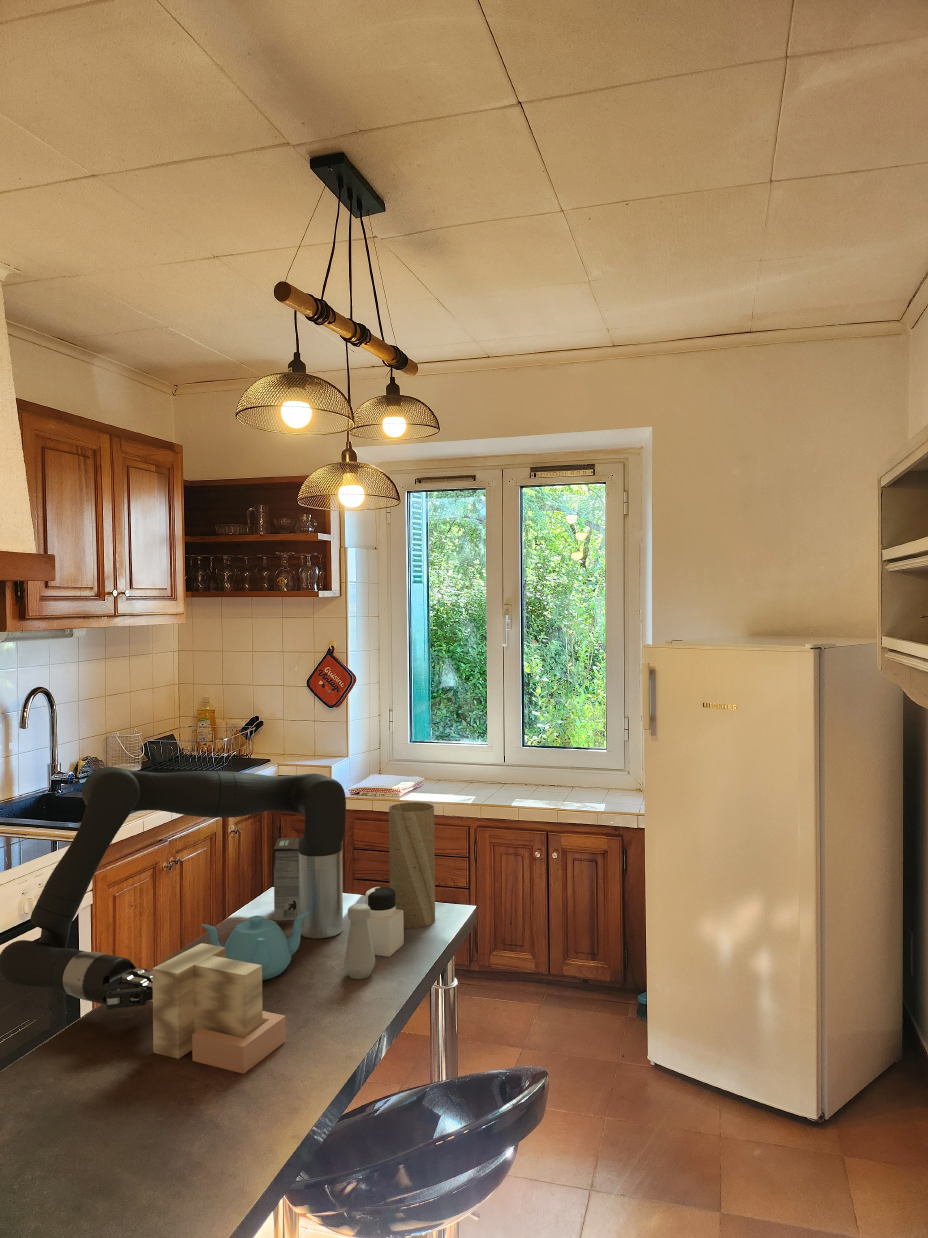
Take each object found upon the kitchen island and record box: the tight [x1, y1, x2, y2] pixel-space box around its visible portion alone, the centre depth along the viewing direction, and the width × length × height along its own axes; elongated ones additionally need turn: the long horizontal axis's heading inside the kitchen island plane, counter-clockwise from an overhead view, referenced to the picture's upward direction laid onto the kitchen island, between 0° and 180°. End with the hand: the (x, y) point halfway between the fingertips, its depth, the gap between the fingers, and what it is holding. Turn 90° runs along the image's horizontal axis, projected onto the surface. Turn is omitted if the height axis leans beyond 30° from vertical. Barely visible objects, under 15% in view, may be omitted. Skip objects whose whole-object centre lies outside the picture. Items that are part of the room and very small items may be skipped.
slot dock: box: [191, 1010, 287, 1074], centre depth 131 cm, size 10×10×4 cm
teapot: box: [200, 912, 309, 981], centre depth 161 cm, size 15×15×10 cm
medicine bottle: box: [365, 886, 405, 958], centre depth 171 cm, size 7×7×12 cm
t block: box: [152, 942, 263, 1060], centre depth 133 cm, size 15×11×13 cm
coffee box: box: [273, 837, 301, 921], centre depth 192 cm, size 9×6×16 cm
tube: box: [388, 801, 436, 929], centre depth 187 cm, size 10×10×25 cm
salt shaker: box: [344, 903, 376, 980], centre depth 158 cm, size 6×6×13 cm
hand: (178, 995), depth 136 cm, fingers closed
